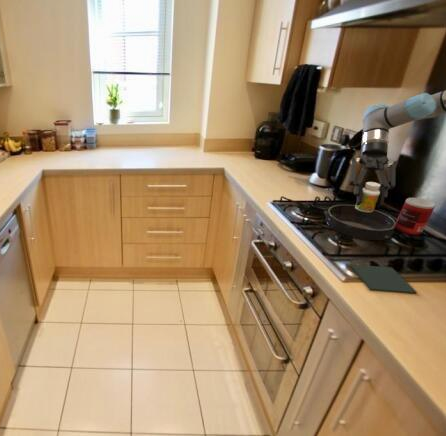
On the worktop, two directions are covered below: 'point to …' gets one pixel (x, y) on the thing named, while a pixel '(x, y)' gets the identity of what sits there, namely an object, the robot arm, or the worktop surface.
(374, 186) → the supplement bottle
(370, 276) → the mat
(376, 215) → the pan
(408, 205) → the red supplement tub
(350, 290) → the worktop surface
